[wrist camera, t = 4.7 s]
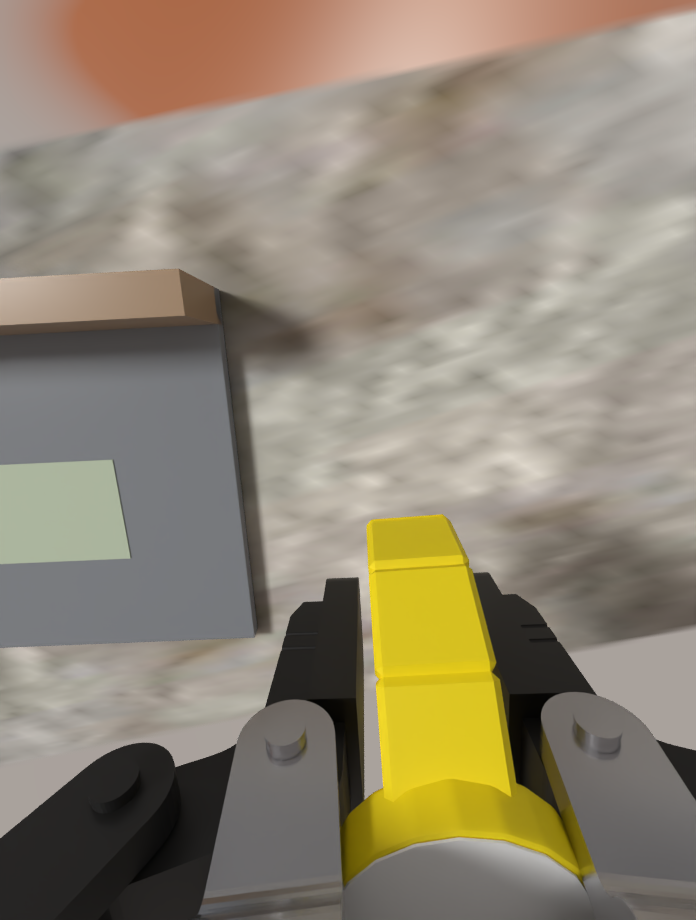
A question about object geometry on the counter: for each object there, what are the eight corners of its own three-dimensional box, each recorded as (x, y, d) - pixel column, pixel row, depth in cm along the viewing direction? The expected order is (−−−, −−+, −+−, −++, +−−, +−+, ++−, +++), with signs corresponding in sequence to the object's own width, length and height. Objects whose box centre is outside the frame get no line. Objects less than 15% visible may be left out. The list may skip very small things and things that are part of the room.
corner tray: (218, 289, 15) (178, 268, 11) (257, 628, 18) (235, 693, 15) (-225, 313, 15) (-397, 300, 12) (-110, 643, 18) (-218, 710, 15)
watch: (464, 692, 11) (583, 1101, 5) (356, 698, 11) (354, 1101, 5) (462, 470, 9) (640, 719, 3) (332, 481, 9) (290, 736, 3)
